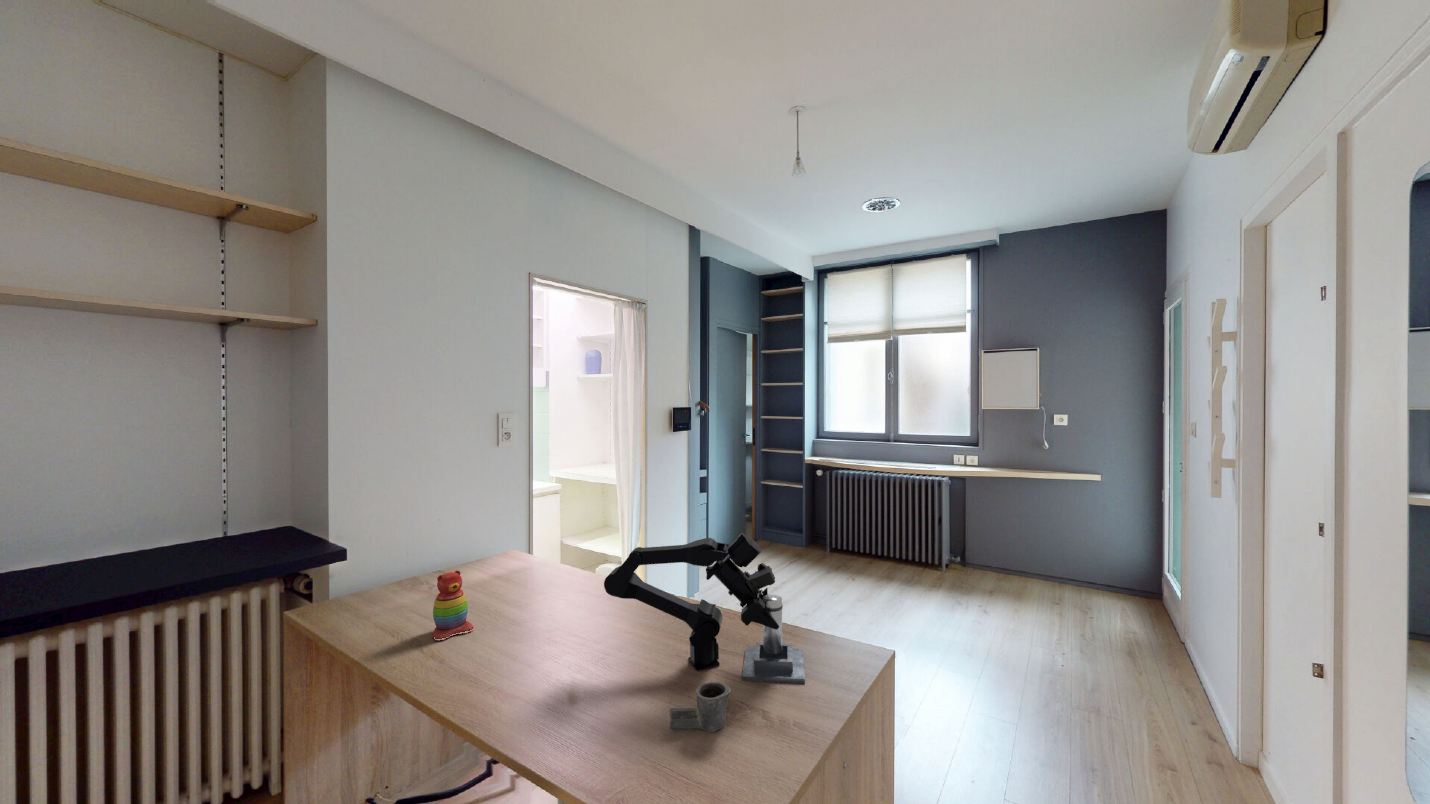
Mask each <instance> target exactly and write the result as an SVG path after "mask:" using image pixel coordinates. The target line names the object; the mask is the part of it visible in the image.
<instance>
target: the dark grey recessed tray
mask: <svg viewBox="0 0 1430 804" xmlns="http://www.w3.org/2000/svg"><path fill="white" fill-rule="evenodd" d="M804 662H805V661H804V651H803V648H802V647H801V648H800V647H799V648H797V647H796V648H795V647H793V644H792V643H784V642H782V652H780V653H777V654H770V653H767V652H765V651H764V649H763V642H755V646H746V647H745V653H744V661H743V666H742V673H741V674H742V675H741V681H750V682H751V681H752V682H768V683H771V682H773V683H789V684H790V683H795V684H805V683H806V675H805V663H804Z"/></svg>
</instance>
